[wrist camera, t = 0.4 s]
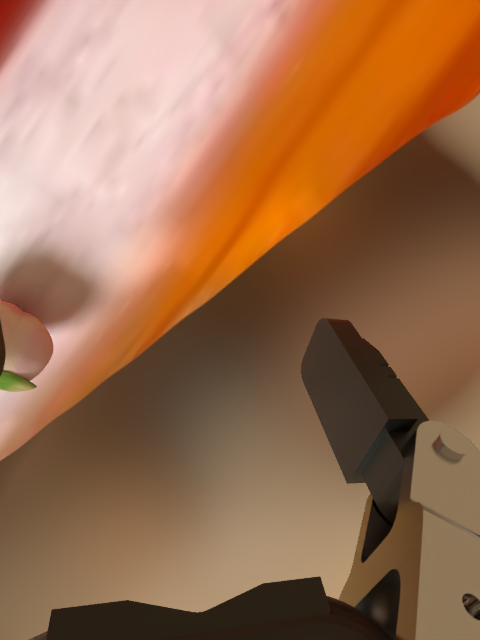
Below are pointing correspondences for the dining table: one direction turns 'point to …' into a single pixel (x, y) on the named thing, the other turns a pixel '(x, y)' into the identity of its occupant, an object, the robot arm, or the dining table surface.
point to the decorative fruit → (23, 348)
